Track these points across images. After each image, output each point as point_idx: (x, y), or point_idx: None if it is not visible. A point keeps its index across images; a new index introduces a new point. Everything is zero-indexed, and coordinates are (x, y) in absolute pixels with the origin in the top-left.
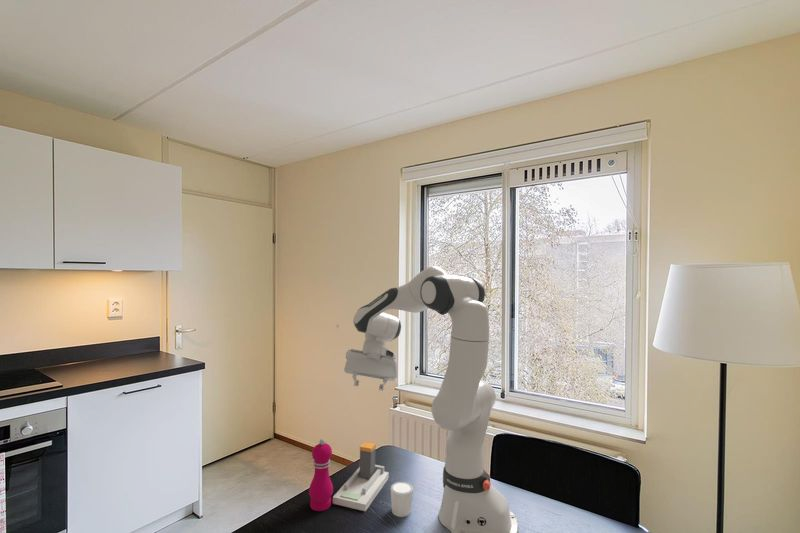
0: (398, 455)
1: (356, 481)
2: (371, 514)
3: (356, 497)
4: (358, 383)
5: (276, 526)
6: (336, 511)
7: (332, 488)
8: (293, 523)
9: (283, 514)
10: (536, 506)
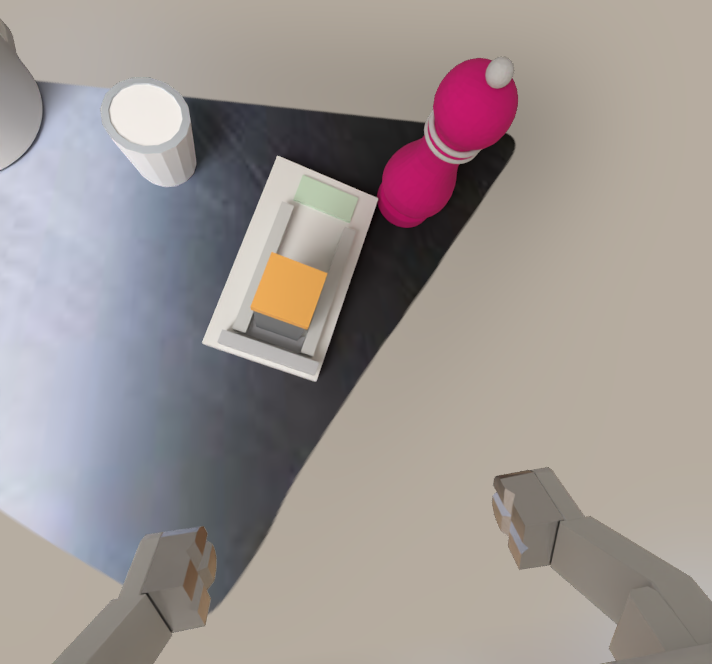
0: None
1: None
2: (258, 152)
3: (308, 185)
4: (507, 486)
5: None
6: (356, 172)
7: (386, 171)
8: None
9: (482, 170)
10: None
